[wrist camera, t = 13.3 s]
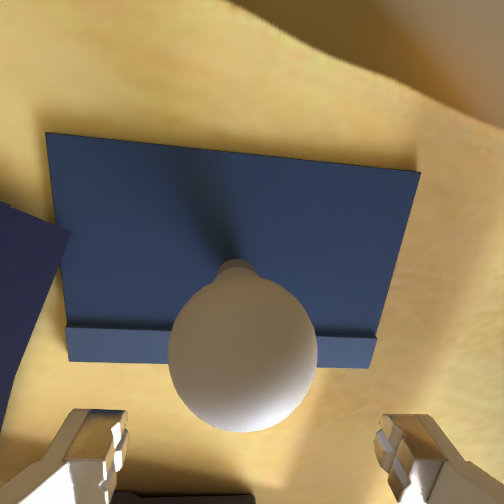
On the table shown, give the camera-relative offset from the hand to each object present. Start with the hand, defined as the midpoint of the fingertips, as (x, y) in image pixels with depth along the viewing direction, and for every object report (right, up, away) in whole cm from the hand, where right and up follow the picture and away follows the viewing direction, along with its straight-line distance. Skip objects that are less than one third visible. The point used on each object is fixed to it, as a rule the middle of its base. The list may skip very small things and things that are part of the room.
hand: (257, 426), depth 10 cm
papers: (-29, +3, +9) cm, 31 cm away
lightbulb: (-1, +4, +11) cm, 12 cm away
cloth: (-1, +4, +11) cm, 12 cm away
